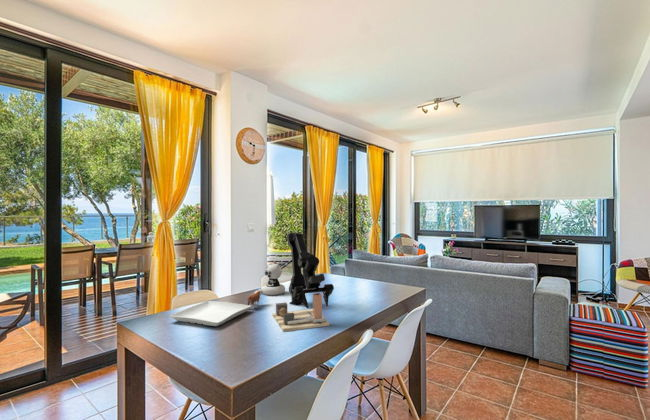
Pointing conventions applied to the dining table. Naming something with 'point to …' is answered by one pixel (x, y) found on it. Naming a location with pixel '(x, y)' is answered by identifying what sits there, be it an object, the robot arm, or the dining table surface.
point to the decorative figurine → (273, 280)
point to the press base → (282, 309)
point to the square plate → (210, 313)
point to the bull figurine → (254, 298)
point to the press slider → (315, 318)
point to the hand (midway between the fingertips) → (317, 307)
